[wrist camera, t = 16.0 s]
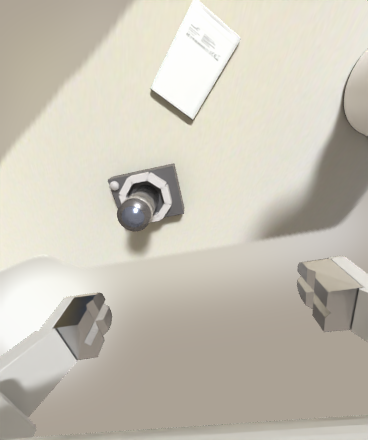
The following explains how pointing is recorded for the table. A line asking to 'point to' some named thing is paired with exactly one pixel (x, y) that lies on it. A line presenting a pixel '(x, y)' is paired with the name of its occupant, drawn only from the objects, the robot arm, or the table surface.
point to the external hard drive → (195, 59)
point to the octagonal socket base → (158, 179)
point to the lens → (138, 208)
